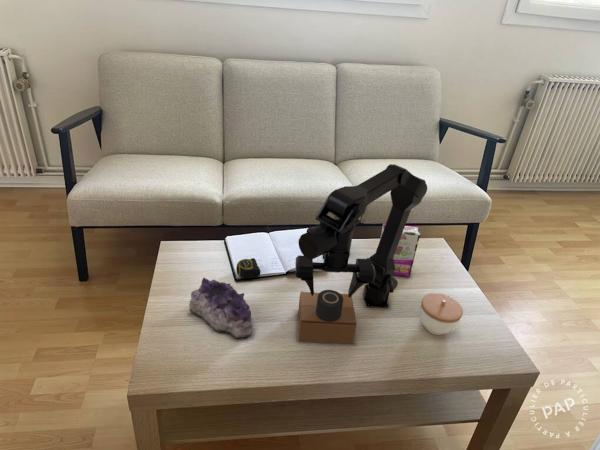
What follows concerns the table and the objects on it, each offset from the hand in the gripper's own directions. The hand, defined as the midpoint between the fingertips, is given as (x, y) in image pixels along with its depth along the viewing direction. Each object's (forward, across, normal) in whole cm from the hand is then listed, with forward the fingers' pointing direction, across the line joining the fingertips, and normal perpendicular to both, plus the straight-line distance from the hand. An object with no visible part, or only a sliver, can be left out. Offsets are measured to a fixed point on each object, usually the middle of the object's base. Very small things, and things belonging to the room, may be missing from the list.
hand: (330, 295), depth 103 cm
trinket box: (+13, -31, -4) cm, 34 cm away
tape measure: (+13, +22, -24) cm, 35 cm away
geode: (+13, +27, -4) cm, 30 cm away
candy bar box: (+13, -24, -29) cm, 40 cm away
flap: (+6, 0, -5) cm, 7 cm away
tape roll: (+5, 0, +1) cm, 5 cm away
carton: (+13, 0, -2) cm, 13 cm away
